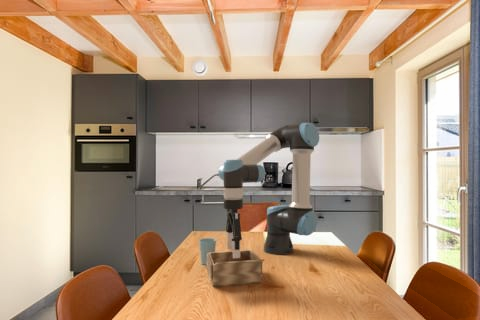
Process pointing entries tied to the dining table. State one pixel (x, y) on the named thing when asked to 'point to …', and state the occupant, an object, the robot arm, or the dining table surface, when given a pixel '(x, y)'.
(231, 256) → the potato
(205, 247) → the cup
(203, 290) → the dining table surface
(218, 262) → the flap
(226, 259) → the carton
